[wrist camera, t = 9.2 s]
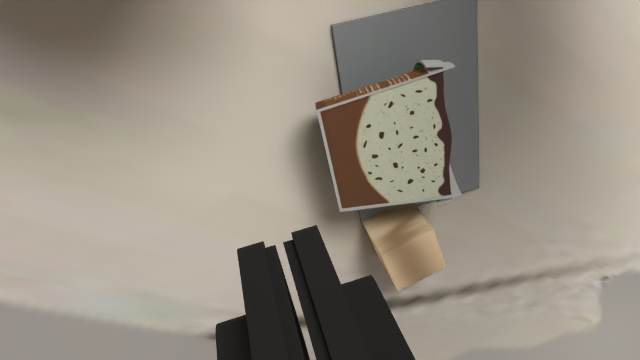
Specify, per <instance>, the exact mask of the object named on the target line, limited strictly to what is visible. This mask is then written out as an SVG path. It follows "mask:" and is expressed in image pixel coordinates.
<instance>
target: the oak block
mask: <svg viewBox="0 0 640 360" xmlns="http://www.w3.org/2000/svg"><path fill="white" fill-rule="evenodd" d="M362 223H363V225H364V227H365V229H366V231H367V233H368V235H369V238H370V240H371V242H372V244H373V246H374V248H375V250H376V253H377V255H378V257H379V259H380V260H381V262H382V264H383V266H384V268H385V269H386V271H387V273H388V275H389V277H390V278H391V280H392V282H393V284H394V286H395V287H396V289H397V291H399V290H401V289H403V288H405V287H407V286H409V285H411V284H413V283H415V282H417V281H419V280H421V279H423V278H425V277H427V276H429V275H431V274H433V273H435V272H437V271H439V270H441V269H443V268H445V267H447V265H446V263H445V260H444V257H443V254H442V251H441V248H440V246H439V243H438V240H437V237H436V234H435V231H434V229H433V227H432V226H431V225H430V223H429V222H428V221H427V220H426V218H425V217H424V216H423V214H422V213H421V212H420V210H419V209H418V208H417V206H416V205H415V204H414V203H409V204H401V205H394V206H392V207H390V208H388V209H386V210H384V211H382V212H380V213H378V214H376V215H374V216H372V217H370V218H368V219H366V220H364V221H362Z"/></svg>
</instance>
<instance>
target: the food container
mask: <svg viewBox="0 0 640 360" xmlns="http://www.w3.org/2000/svg"><path fill="white" fill-rule="evenodd" d="M454 67H455V65H454V64H452V63H451V62H443V61H441V60H418V61H416V62H415V64H414V67H413V71H412V72H409V73H406V74H403V75H400V76H397V77H394V78H391V79H388V80H384V81H381V82H378V83H375V84H372V85H369V86H366V87H363V88H360V89H357V90H354V91H351V92H347V93H344V94H341V95H338V96H335V97H332V98H329V99H326V100H323V101H320V102H317V103H315V104H316V111H317V115H318V120H319V124H320V128H321V133H322V137H323V141H324V146H325V150H326V154H327V159H328V163H329V167H330V172H331V176H332V180H333V185H334V189H335V193H336V198H337V202H338V206H339V211H340V212H345V211H353V210H361V209H369V208H377V207H385V206H393V205H401V204H409V203H417V202H425V201H433V200H436V202H437V205H438V206H440V205H443V204H446V203H448V202H451V201H454V200H455V199H454V198H456V197H460V196H462V194H461V192H460V190H459V188H458V185H457V183H456V180H455V178H454V175H453V172H452V169H451V166H450V154H451V146H452V134H451V128H450V124H449V120H448V116H447V112H446V109H445V99H444V77H443V71H445V70H448V69H451V68H454Z"/></svg>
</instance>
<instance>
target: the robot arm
mask: <svg viewBox="0 0 640 360" xmlns="http://www.w3.org/2000/svg"><path fill="white" fill-rule="evenodd" d="M291 234H292V238H293V240H290V241H287V242H283V244H284V247H285V251H286V254H287V258H288V261H289V265H290V268H291V272H292V275H293V279H294V282H295V286H296V289H297V293H298V296H299V300H300V303H301V307H302V310H303V314H304V317H305V321H306V324H307V328H308V331H309V335H310V338H311V342H312V346H313V349H314V353H315V356H316V360H415V358H414V356H413V354H412V352H411V350H410V348H409V346H408V344H407V342H406V340H405V339H404V337H403V335H402V333H401V331H400V329H399V327H398V325H397V323H396V321H395V319H394V317H393V315H392V313H391V311H390V309H389V307H388V305H387V303H386V301H385V299H384V297H383V295H382V293H381V291H380V289H379V287H378V286H377V284H376V282H375V280H374V278H373V277H372V276H371V275H370V276H367V277H363V278H360V279H357V280H354V281H351V282H348V283H345V284H341V283H340V281H339V279H338V276H337V274H336V271H335V269H334V266H333V264H332V262H331V259H330V257H329V254H328V252H327V249H326V247H325V244H324V242H323V240H322V237H321V235H320V232H319V230H318V228H317V226H316V225H315V226H312V227H309V228H305V229H302V230H299V231H295V232H292V233H291ZM237 254H238V261H239V268H240V275H241V283H242V290H243V297H244V304H245V312H246V315H243V316H240V317H237V318H234V319H231V320H228V321H224V322H221V323H218V324H217V325H216V346H217V360H310V359H309V355H308V351H307V348H306V344H305V341H304V337H303V334H302V331H301V327H300V324H299V321H298V318H297V314H296V311H295V308H294V305H293V301H292V298H291V295H290V292H289V288H288V285H287V282H286V279H285V275H284V272H283V269H282V266H281V262H280V259H279V256H278V253H277V249H276V246H275V245H273V246H270V247H267V248H265V245H264V242H263V241H262V242H259V243H256V244H252V245H249V246H246V247H242V248H239V249H237Z"/></svg>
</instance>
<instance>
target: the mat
mask: <svg viewBox="0 0 640 360" xmlns="http://www.w3.org/2000/svg"><path fill="white" fill-rule="evenodd" d="M331 28H332V34H333V41H334V48H335V54H336V61H337V67H338V74H339V81H340V87H341V94H344V93H347V92H351V91H354V90H357V89H360V88H363V87H366V86H369V85H372V84H375V83H378V82H381V81H384V80H388V79H391V78H394V77H397V76H400V75H403V74H406V73H409V72H412V71H413V67H414V64H415V62H416V61H418V60H441V61H443V62H451V63H452V64H454V65H455V67H454V68H451V69H448V70H445V71H443V77H444V99H445V109H446V112H447V116H448V120H449V124H450V128H451V134H452V146H451V154H450V166H451V169H452V172H453V175H454V178H455V180H456V183H457V185H458V188H459V190H460V192H461V193H463V192H466V191H470V190H473V189H477V188H479V127H478V46H477V0H440V1H436V2H431V3H427V4H422V5H418V6H414V7H409V8H405V9H400V10H396V11H391V12H387V13H383V14H378V15H374V16H369V17H365V18H360V19H356V20H351V21H347V22H343V23H338V24H334V25H331ZM433 201H435V200H433ZM428 202H431V201H425V202H417V203H414V204H415V205H416V206H417V205H421V204H424V203H428ZM393 206H394V205H393ZM390 207H392V206H385V207H377V208H369V209H361V210H359V212H360V219H361V221H364V220H366V219H368V218H370V217H372V216H374V215H376V214H378V213H380V212H382V211H384V210H386V209H388V208H390Z"/></svg>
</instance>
